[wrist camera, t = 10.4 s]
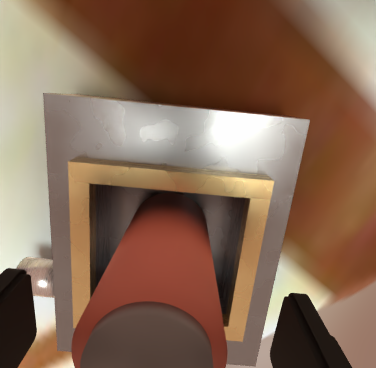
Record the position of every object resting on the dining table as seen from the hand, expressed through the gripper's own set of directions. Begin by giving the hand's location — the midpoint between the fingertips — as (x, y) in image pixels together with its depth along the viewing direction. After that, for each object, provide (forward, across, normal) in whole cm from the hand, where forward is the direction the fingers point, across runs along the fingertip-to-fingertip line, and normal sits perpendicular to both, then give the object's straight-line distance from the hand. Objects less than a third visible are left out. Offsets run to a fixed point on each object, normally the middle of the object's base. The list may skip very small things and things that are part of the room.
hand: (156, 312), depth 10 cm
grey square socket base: (+10, +2, +1) cm, 10 cm away
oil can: (+8, 0, +1) cm, 9 cm away
